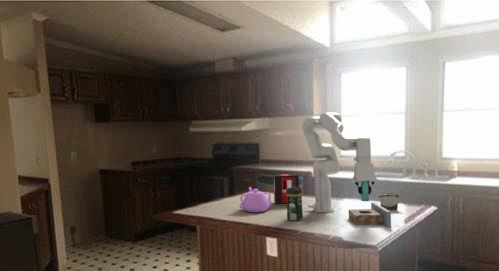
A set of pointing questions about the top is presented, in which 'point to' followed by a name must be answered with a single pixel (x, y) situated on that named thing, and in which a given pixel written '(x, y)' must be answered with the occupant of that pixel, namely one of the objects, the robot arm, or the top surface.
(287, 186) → the cleaning product box
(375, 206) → the backstop wall
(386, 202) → the food container
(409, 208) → the top surface
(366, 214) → the socket block
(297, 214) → the coffee jar
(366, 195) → the dowel
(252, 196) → the teapot
